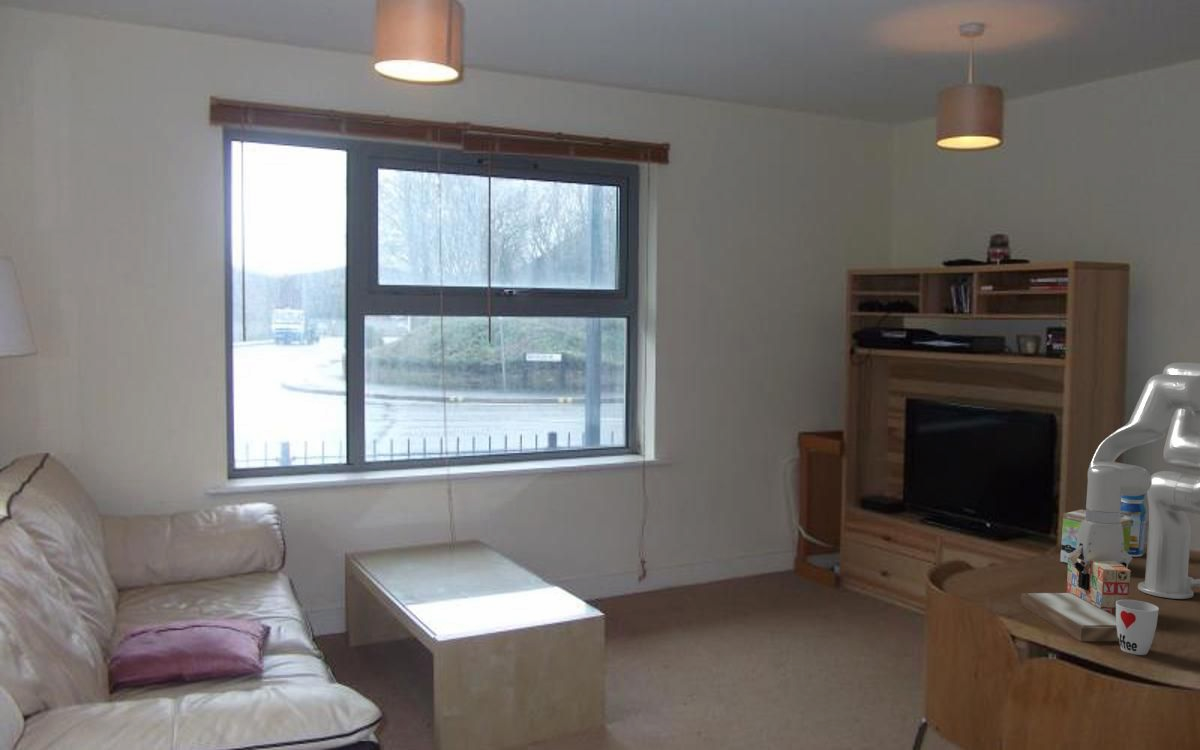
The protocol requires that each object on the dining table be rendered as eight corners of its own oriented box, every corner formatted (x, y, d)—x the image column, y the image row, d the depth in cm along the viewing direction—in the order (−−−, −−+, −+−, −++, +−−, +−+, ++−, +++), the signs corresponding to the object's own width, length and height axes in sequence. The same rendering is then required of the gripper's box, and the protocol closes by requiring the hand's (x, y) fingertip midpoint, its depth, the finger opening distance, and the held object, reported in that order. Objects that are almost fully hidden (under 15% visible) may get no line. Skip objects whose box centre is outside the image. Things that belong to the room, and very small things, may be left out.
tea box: (1059, 562, 289) (1062, 512, 287) (1077, 558, 295) (1080, 508, 293) (1111, 575, 277) (1114, 522, 275) (1129, 569, 283) (1132, 518, 281)
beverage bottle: (1150, 557, 297) (1154, 490, 296) (1126, 558, 295) (1130, 491, 294) (1129, 549, 306) (1133, 485, 304) (1105, 550, 304) (1109, 485, 302)
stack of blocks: (1065, 593, 258) (1068, 545, 257) (1090, 594, 257) (1093, 547, 256) (1100, 619, 237) (1103, 568, 236) (1127, 620, 236) (1131, 569, 235)
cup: (1105, 644, 219) (1108, 599, 218) (1140, 644, 220) (1143, 599, 219) (1127, 657, 211) (1130, 611, 210) (1164, 657, 212) (1167, 611, 211)
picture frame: (1071, 604, 248) (1072, 591, 247) (1136, 640, 222) (1137, 626, 222) (1020, 605, 246) (1021, 592, 246) (1080, 641, 221) (1081, 626, 220)
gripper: (1126, 513, 249) (1122, 584, 250) (1060, 513, 247) (1055, 584, 249) (1146, 520, 241) (1141, 593, 243) (1077, 520, 240) (1072, 593, 241)
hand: (1098, 588), depth 246 cm, fingers closed on stack of blocks, 6 cm apart
